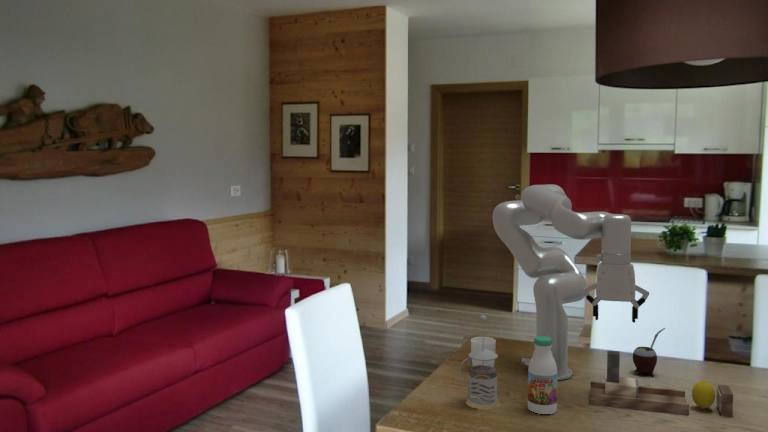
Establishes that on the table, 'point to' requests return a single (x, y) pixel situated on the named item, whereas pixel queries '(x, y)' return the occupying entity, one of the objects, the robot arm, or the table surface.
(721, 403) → the open brown box
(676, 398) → the press bed
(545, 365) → the milk bottle
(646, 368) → the mate gourd
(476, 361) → the translucent flanged cylinder
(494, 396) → the french press
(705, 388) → the lemon
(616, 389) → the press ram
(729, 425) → the table surface
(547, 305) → the robot arm
